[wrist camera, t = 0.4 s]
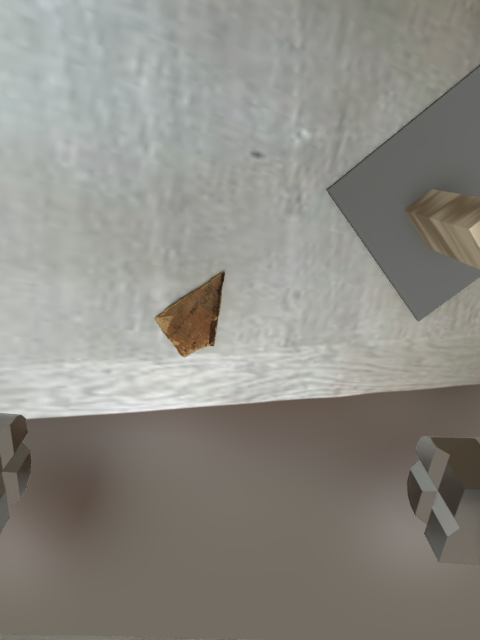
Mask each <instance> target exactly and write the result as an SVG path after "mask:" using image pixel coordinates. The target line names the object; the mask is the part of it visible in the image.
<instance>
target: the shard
mask: <svg viewBox="0 0 480 640" xmlns="http://www.w3.org/2000/svg"><path fill="white" fill-rule="evenodd" d="M224 276H225V272H223V273H220V274H219V275H218V276H216V277H215V278H214V279H212V280H211V281H210V282H208V283H207V284H206V285H204V286H203V287H202V288H200V289H199V290H197V291H194V292H192V293H191V294H189V295H188V296H186V297H185V298H183V299H181V300H180V301H178V302H177V303H176V304H174V305H172V306H170V307H169V308H168V309H166V310H165V312H163V313H162V314H160V315H159V316H157V317H156V318H155V320H156V322H157V324H158V325H159V327H160V328H161V330H162V331H163V333H164V334H165V335H166V336H167V338H168V339H170V341H171V342H172V344H173V345H174V346H175V347H176V349H177V350H178V352H179V354H180V355H181V356H183V357H186V356H188V355H190V354H191V353H193V352H195V351H196V350H199V349H201V348H204V347H207V346H214V343H215V342H214V341H215V335H216V329H217V321H218V316H219V311H220V304H221V290H222V285H223V282H224Z"/></svg>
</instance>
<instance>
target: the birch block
mask: <svg viewBox="0 0 480 640" xmlns="http://www.w3.org/2000/svg"><path fill="white" fill-rule="evenodd" d="M404 212H405V213H406V215H407V216H408V218H409V219H410V221H411V223H412V224H413V226H414V227H415V229H416V230H417V232H418V234H419V235H420V237H421V238H422V240H423V241H424V243H425V245H426V246H427V248H429V249H431V250H434V251H436V252H439V253H441V254H443V255H446V256H448V257H451V258H453V259H455V260H458V261H460V262H462V263H465V264H467V265H470V266H472V267H474V268H477V269H479V270H480V197H477V196H471V195H465V194H458V193H452V192H446V191H440V190H434V189H431V190H430V191H428V192H427V193H426V194H425V195H423V196H422V197H421V198H419V199H418V200H417V201H416V202H414V203H413V204H412V205H410V206H409V207H408V208H407V209H405V210H404Z"/></svg>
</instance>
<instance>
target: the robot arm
mask: <svg viewBox="0 0 480 640" xmlns="http://www.w3.org/2000/svg"><path fill="white" fill-rule="evenodd" d="M27 433H28V429H27V423H26V418H24V417H23V416H22V415H18V414H5V413H0V534H1V532H2V530H3V528H4V526H5V525H6V523H7V521H8V520H9V518H10V516H9V509H8V507H9V506H10V505H12V504H13V503H14V502H16V501H18V500H19V499H20V498H21V496H22V495H23V493H24V491H25V488H26V487H27V483H28V480H29V476H30V473H31V453H30V450H29V449H28V448H27V447H26V446H25V445H24V444H23V443H22V441H23V440H24V438H25V436H26V435H27ZM416 454H417V456H418V458H419V460H420V461H419V462H418V463H417V464H415V465H414V466H413V467H412V468H411V469H410V472H409V476H408V481H407V491H408V498H409V502H410V506H411V508H412V510H413V512H414V514H415V516H417V517H418V518H419V519H420V520H422V521H423V522H424V523H426V524H427V526H426V529H425V532H424V534H425V536H426V538H427V540H428V542H429V544H430V546H431V548H432V550H433V552H434V554H435V556H436V558H437V560H438V562H439V563H453V564H454V563H455V564H470V565H480V438H474V437H472V438H471V437H470V438H455V437H431V436H423V437H422V438H421V439H420V440H419V442H418V445H417V448H416ZM0 640H231V639H192V638H151V637H112V636H69V635H68V636H67V635H28V634H0ZM232 640H234V639H232Z"/></svg>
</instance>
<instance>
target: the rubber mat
mask: <svg viewBox="0 0 480 640" xmlns="http://www.w3.org/2000/svg"><path fill="white" fill-rule="evenodd" d="M431 189H434V190H440V191H446V192H452V193H458V194H465V195H471V196H477V197H480V66H478V67H477V68H476V69H475V70H473V71H472V72H471V73H470V74H468V75H467V76H466V77H465V78H464V79H462V80H461V81H460V82H459V83H457V84H456V85H455V86H454V87H452V88H451V89H450V90H449V91H448V92H446V93H445V94H444V95H443V96H441V97H440V98H439V99H438V100H436V101H435V102H434V103H433V104H432V105H430V106H429V107H428V108H427V109H425V110H424V111H423V112H422V113H420V114H419V115H418V116H417V117H416V118H414V119H413V120H412V121H411V122H409V123H408V124H407V125H406V126H404V127H403V128H402V129H401V130H400V131H398V132H397V133H396V134H395V135H393V136H392V137H391V138H390V139H388V140H387V141H386V142H385V143H384V144H382V145H381V146H380V147H379V148H377V149H376V150H375V151H374V152H372V153H371V154H370V155H369V156H368V157H366V158H365V159H364V160H363V161H361V162H360V163H359V164H358V165H356V166H355V167H354V168H353V169H352V170H350V171H349V172H348V173H347V174H345V175H344V176H343V177H342V178H340V179H339V180H338V181H337V182H336V183H334V184H333V185H332V186H331V187H329V188H328V189H327V191H328V193H329V194H330V196H331V197H332V199H333V200H334V201H335V203H336V204H337V206H338V207H339V209H340V210H341V212H342V213H343V214H344V216H345V217H346V219H347V220H348V222H349V223H350V224H351V226H352V227H353V229H354V230H355V232H356V233H357V235H358V236H359V237H360V239H361V240H362V242H363V243H364V245H365V246H366V247H367V249H368V250H369V252H370V253H371V255H372V256H373V258H374V259H375V260H376V262H377V263H378V265H379V266H380V268H381V269H382V271H383V272H384V273H385V275H386V276H387V278H388V279H389V281H390V282H391V283H392V285H393V286H394V288H395V289H396V291H397V292H398V294H399V295H400V296H401V298H402V299H403V301H404V302H405V304H406V305H407V306H408V308H409V309H410V311H411V312H412V314H413V315H414V317H415V318H416V319H417V321H420V320H421V319H423V318H424V317H425V316H427V315H428V314H430V313H431V312H432V311H434V310H435V309H436V308H438V307H439V306H441V305H442V304H443V303H445V302H446V301H447V300H449V299H450V298H452V297H453V296H454V295H456V294H457V293H458V292H460V291H461V290H463V289H464V288H465V287H467V286H468V285H469V284H471V283H472V282H474V281H475V280H476V279H478V278H479V277H480V270H479V269H477V268H474V267H472V266H470V265H467V264H465V263H462V262H460V261H458V260H455V259H453V258H451V257H448V256H446V255H443V254H441V253H439V252H436V251H434V250H431V249H429V248H427V246H426V245H425V243H424V241H423V240H422V238H421V237H420V235H419V234H418V232H417V230H416V229H415V227H414V226H413V224H412V223H411V221H410V219H409V218H408V216H407V215H406V213H405V212H404V210H405V209H407V208H408V207H409V206H410V205H412V204H413V203H414V202H416V201H417V200H418V199H419V198H421V197H422V196H423V195H425V194H426V193H427V192H428V191H430V190H431Z"/></svg>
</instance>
